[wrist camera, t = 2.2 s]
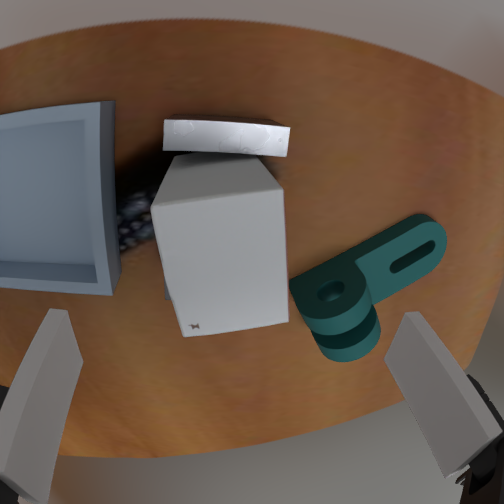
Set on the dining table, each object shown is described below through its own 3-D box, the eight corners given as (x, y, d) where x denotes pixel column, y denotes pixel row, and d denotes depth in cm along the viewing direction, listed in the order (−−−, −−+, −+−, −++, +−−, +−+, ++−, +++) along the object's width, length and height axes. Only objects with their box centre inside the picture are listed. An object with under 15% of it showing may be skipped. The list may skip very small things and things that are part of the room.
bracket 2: (308, 322, 36) (329, 372, 29) (286, 280, 33) (306, 331, 26) (438, 251, 34) (478, 286, 27) (430, 203, 31) (476, 234, 24)
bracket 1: (171, 262, 30) (165, 299, 24) (174, 114, 24) (164, 119, 18) (255, 264, 31) (265, 301, 26) (272, 120, 25) (290, 127, 20)
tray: (-5, 265, 27) (-22, 284, 23) (-27, 120, 20) (-51, 127, 16) (121, 271, 29) (112, 295, 26) (115, 100, 22) (100, 102, 19)
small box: (257, 231, 29) (291, 325, 18) (188, 241, 29) (181, 341, 18) (249, 143, 26) (286, 187, 14) (173, 153, 25) (145, 207, 14)
